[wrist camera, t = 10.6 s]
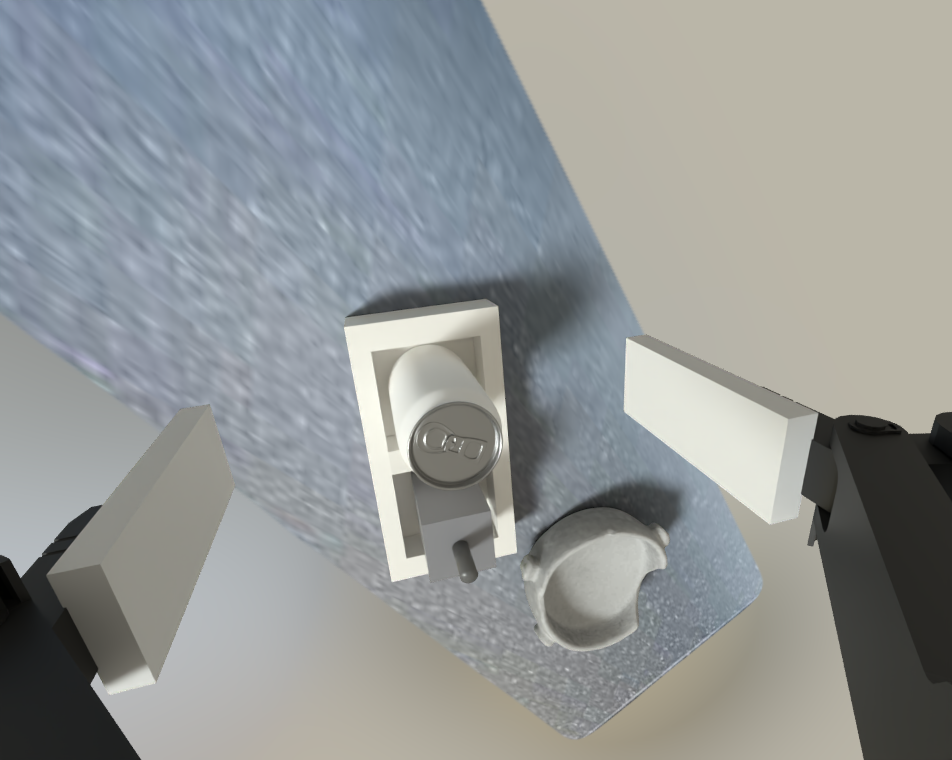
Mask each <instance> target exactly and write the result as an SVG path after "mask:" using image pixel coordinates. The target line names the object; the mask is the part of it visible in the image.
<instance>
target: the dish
mask: <svg viewBox="0 0 952 760" xmlns="http://www.w3.org/2000/svg"><path fill="white" fill-rule="evenodd" d="M669 541H670V539H669V534H668V533H667V531H665V530H664V529H663V528H662V527H661V526H660V525H658V524H657V523H651V524H649V525H647V526H646V525H644V524H643V523H641V522H640V521H638V520H637V519H635V518H634V517H632V516H631V515H629V514H628V513H626V512H623V511H621V510H618V509H614V508H608V507H598V508H590V509H585V510H582V511H578V512H576V513H574V514H571V515H569V516H567V517H565V518H563V519H562V520H560V521H559V522H557V523H556V524H554V525H553V526H552V527H551V528H550V529H549V530H547V531H546V532H545V533H544V534H543V535H542V536H541V537H540V538H539V539H538V540H537V542H536V543H535V544H534V546H533V547H532V549H531V551H530V553H529V554H528V555H526V556H524V558H523V560H522V561H521V564H520V568H521V572H522V579H523V580H524V588H525V593H526V597H527V600H528V603H529V606H530V608H531V610H532V613H533V615H534V617H535V619H536V621H537V624H536V625H535V627H534V631H535V632H536V634H537V635H538V637H539V639H540V640H541V641H542V642H543V643H544V644H545V645H546V646H549V647H551V646H552V645H553V644H554V643H555V642H557V643H558V644H560V645H561V646H563V647H565V648H567V649H570V650H574V651H591V650H595V649H601V648H604V647H607V646H610V645H612V644H615V643H617V642H619V641H621V640H622V639H623V638H625V637H626V636H628V635H630V634H632V633H633V632H634V631H635V630H636V629H637V628H638V626H639V615H638V596H639V589H640V585H641V582H642V580H643V579H644V577H645V575H646V574H647V573H648V572H650V571H653V570H656V569H665V568H666V566H667V556H666V553H665V549H664V548H665V547H666V546H667V545H668V544H669Z"/></svg>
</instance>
